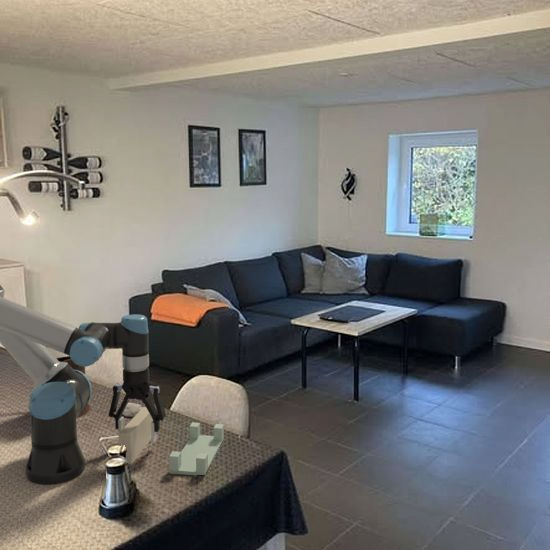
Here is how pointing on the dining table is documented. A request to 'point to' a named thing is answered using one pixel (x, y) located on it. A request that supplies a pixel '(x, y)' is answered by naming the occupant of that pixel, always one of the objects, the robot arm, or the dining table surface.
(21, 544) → the dining table surface
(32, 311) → the robot arm
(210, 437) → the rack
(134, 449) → the clay slat
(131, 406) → the stone tool
